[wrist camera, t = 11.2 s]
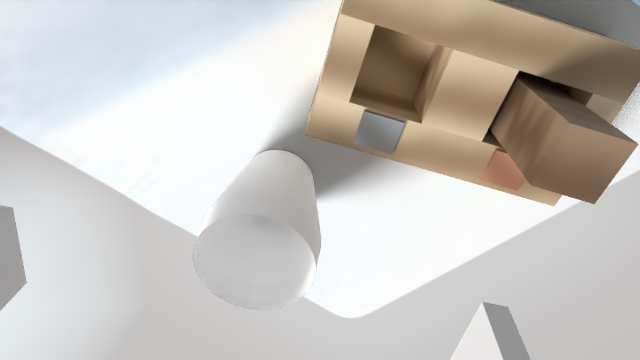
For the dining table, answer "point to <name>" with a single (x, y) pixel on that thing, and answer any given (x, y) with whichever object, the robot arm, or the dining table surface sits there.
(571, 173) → the plug
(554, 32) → the box
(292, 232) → the cup
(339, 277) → the dining table surface
